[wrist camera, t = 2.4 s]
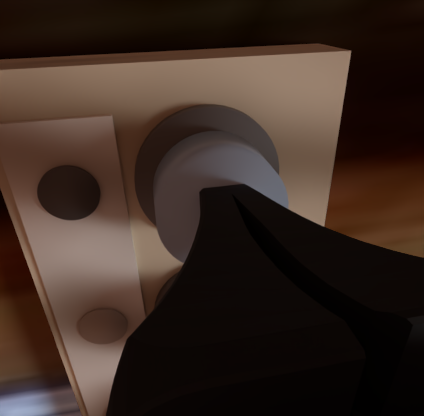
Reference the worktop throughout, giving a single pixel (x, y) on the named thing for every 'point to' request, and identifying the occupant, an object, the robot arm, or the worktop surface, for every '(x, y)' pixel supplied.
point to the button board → (143, 172)
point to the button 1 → (205, 182)
